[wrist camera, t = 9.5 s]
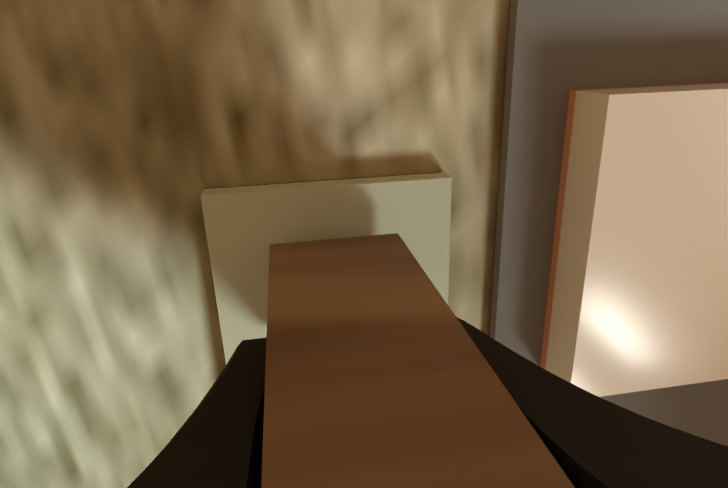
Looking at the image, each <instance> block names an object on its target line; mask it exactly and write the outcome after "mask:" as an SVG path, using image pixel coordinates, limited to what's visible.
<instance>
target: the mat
mask: <svg viewBox="0 0 728 488" xmlns="http://www.w3.org/2000/svg"><path fill="white" fill-rule="evenodd" d="M724 82H728V0H510V15H509V31H508V47H507V63H506V78H505V94H504V110H503V126H502V142H501V157H500V173H499V189H498V205H497V221H496V236H495V252H494V268H493V284H492V300H491V315H490V331H489V336H490V337H491V338H493V339H494V340H496V341H498V342H499V343H501V344H503V345H504V346H506V347H507V348H509V349H511V350H512V351H514V352H516V353H517V354H519V355H521V356H523V357H524V358H526V359H528V360H529V361H531V362H533V363H535V364H536V365H538V366H540V363H541V353H542V344H543V335H544V325H545V316H546V307H547V297H548V288H549V279H550V269H551V260H552V251H553V241H554V232H555V223H556V213H557V204H558V195H559V185H560V176H561V167H562V157H563V148H564V139H565V129H566V120H567V111H568V101H569V92H570V90H580V89H600V88H621V87H641V86H662V85H682V84H703V83H724ZM600 398H602V399H605V400H607V401H609V402H612V403H614V404H616V405H618V406H621V407H623V408H625V409H628V410H630V411H632V412H635V413H637V414H639V415H642V416H644V417H647V418H649V419H652V420H654V421H657V422H660V423H662V424H665V425H667V426H670V427H673V428H676V429H679V430H681V431H684V432H687V433H690V434H693V435H696V436H698V437H701V438H704V439H707V440H710V441H713V442H716V443H719V444H722V445H725V446H728V379H723V380H716V381H709V382H702V383H695V384H688V385H681V386H673V387H666V388H659V389H652V390H645V391H638V392H631V393H624V394H616V395H609V396H602V397H600Z"/></svg>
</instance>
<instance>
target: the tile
mask: <svg viewBox="0 0 728 488" xmlns="http://www.w3.org/2000/svg"><path fill="white" fill-rule="evenodd" d="M540 367H542V368H543V369H545V370H547V371H549V372H551V373H553V374H554V375H556V376H558V377H560V378H562V379H564V380H566V381H568V382H570V383H572V384H574V385H576V386H578V387H579V388H581V389H583V390H585V391H588V392H590V393H592V394H594V395H596V396H598V397H602V396H609V395H616V394H624V393H631V392H638V391H645V390H652V389H659V388H666V387H673V386H681V385H688V384H695V383H702V382H709V381H716V380H723V379H728V82H724V83H703V84H682V85H662V86H641V87H621V88H600V89H580V90H570V92H569V101H568V111H567V120H566V129H565V139H564V148H563V157H562V167H561V176H560V185H559V195H558V204H557V213H556V223H555V232H554V241H553V251H552V260H551V269H550V279H549V288H548V297H547V307H546V316H545V325H544V335H543V344H542V353H541V363H540Z"/></svg>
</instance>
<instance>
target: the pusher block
mask: <svg viewBox="0 0 728 488" xmlns="http://www.w3.org/2000/svg"><path fill="white" fill-rule="evenodd" d="M261 488H575V487H574V486H573V484H572V483H571V481H570V480H569V479H568V477H567V476H566V474H565V473H564V471H563V470H562V468H561V467H560V466H559V464H558V463H557V461H556V460H555V458H554V457H553V456H552V454H551V453H550V451H549V450H548V448H547V447H546V445H545V444H544V443H543V441H542V440H541V438H540V437H539V435H538V434H537V433H536V431H535V430H534V428H533V427H532V425H531V424H530V422H529V421H528V420H527V418H526V417H525V415H524V414H523V412H522V411H521V410H520V408H519V407H518V405H517V404H516V402H515V401H514V399H513V398H512V397H511V395H510V394H509V392H508V391H507V389H506V388H505V387H504V385H503V384H502V382H501V381H500V379H499V378H498V376H497V375H496V374H495V372H494V371H493V369H492V368H491V366H490V365H489V364H488V362H487V361H486V359H485V358H484V356H483V355H482V353H481V352H480V351H479V349H478V348H477V346H476V345H475V343H474V342H473V341H472V339H471V338H470V336H469V335H468V333H467V332H466V330H465V329H464V328H463V326H462V325H461V323H460V322H459V320H458V319H457V318H456V316H455V315H454V313H453V312H452V310H451V309H450V307H449V306H448V305H447V303H446V302H445V300H444V299H443V297H442V296H441V295H440V293H439V292H438V290H437V289H436V287H435V286H434V284H433V283H432V282H431V280H430V279H429V277H428V276H427V274H426V273H425V272H424V270H423V269H422V267H421V266H420V264H419V263H418V261H417V260H416V259H415V257H414V256H413V254H412V253H411V251H410V250H409V249H408V247H407V246H406V244H405V243H404V241H403V240H402V238H401V237H400V236H399V234H398V233H395V234H384V235H372V236H361V237H349V238H338V239H326V240H315V241H303V242H292V243H280V244H270V250H269V279H268V308H267V337H266V366H265V395H264V424H263V453H262V482H261Z"/></svg>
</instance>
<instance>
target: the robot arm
mask: <svg viewBox="0 0 728 488" xmlns="http://www.w3.org/2000/svg"><path fill="white" fill-rule="evenodd" d="M456 318H457V317H456ZM457 319H458V320H459V322H460V323H461V325H462V326H463V328H464V329H465V330H466V332H467V333H468V335H469V336H470V338H471V339H472V341H473V342H474V343H475V345H476V346H477V348H478V349H479V351H480V352H481V353H482V355H483V356H484V358H485V359H486V361H487V362H488V364H489V365H490V366H491V368H492V369H493V371H494V372H495V374H496V375H497V376H498V378H499V379H500V381H501V382H502V384H503V385H504V387H505V388H506V389H507V391H508V392H509V394H510V395H511V397H512V398H513V399H514V401H515V402H516V404H517V405H518V407H519V408H520V410H521V411H522V412H523V414H524V415H525V417H526V418H527V420H528V421H529V422H530V424H531V425H532V427H533V428H534V430H535V431H536V433H537V434H538V435H539V437H540V438H541V440H542V441H543V443H544V444H545V445H546V447H547V448H548V450H549V451H550V453H551V454H552V456H553V457H554V458H555V460H556V461H557V463H558V464H559V466H560V467H561V468H562V470H563V471H564V473H565V474H566V476H567V477H568V479H569V480H570V481H571V483H572V484H573V486H574V487H575V488H728V446H725V445H722V444H719V443H716V442H713V441H710V440H707V439H704V438H701V437H698V436H696V435H693V434H690V433H687V432H684V431H681V430H679V429H676V428H673V427H670V426H667V425H665V424H662V423H660V422H657V421H654V420H652V419H649V418H647V417H644V416H642V415H639V414H637V413H635V412H632V411H630V410H628V409H625V408H623V407H621V406H618V405H616V404H614V403H612V402H609V401H607V400H605V399H602V398H600V397H598V396H596V395H594V394H592V393H590V392H588V391H585V390H583V389H581V388H579V387H578V386H576V385H574V384H572V383H570V382H568V381H566V380H564V379H562V378H560V377H558V376H556V375H554V374H553V373H551V372H549V371H547V370H545V369H543V368H542V367H540V366H538V365H536V364H535V363H533V362H531V361H529V360H528V359H526V358H524V357H523V356H521V355H519V354H517V353H516V352H514V351H512V350H511V349H509V348H507V347H506V346H504V345H503V344H501V343H499V342H498V341H496V340H494V339H493V338H491V337H490V336H488V335H486V334H485V333H483V332H481V331H480V330H478V329H477V328H475V327H473V326H472V325H470V324H468V323H467V322H465V321H463V320H461V319H459V318H457ZM265 366H266V338H258V339H249V340H243V341H242V342H241V343H240V344H239V345H238V346H237V348H236V349H235V351H234V353H233V355H232V356H231V358H230V360H229V361H228V363H227V364H226V366H225V368H224V369H223V371H222V372H221V374H220V375H219V377H218V378H217V380H216V381H215V383H214V384H213V386H212V387H211V389H210V390H209V391H208V393H207V394H206V396H205V397H204V398H203V400H202V401H201V403H200V404H199V405H198V407H197V408H196V409H195V411H194V412H193V413H192V415H191V416H190V417H189V418H188V420H187V421H186V422H185V423H184V425H183V426H182V427H181V428H180V430H179V431H178V432H177V433H176V434H175V436H174V437H173V438H172V439H171V441H170V442H169V443H168V444H167V445H166V447H165V448H164V449H163V450H162V451H161V452H160V453H159V455H158V456H157V457H156V458H155V459H154V460H153V461H152V462H151V463H150V465H149V466H148V467H147V468H146V469H145V470H144V471H143V472H142V473H141V474H140V475H139V476H138V477H137V478H136V479H135V480H134V481H133V482H132V483H131V484H130V485H129V486H128V487H127V488H261V482H262V453H263V424H264V395H265Z"/></svg>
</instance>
